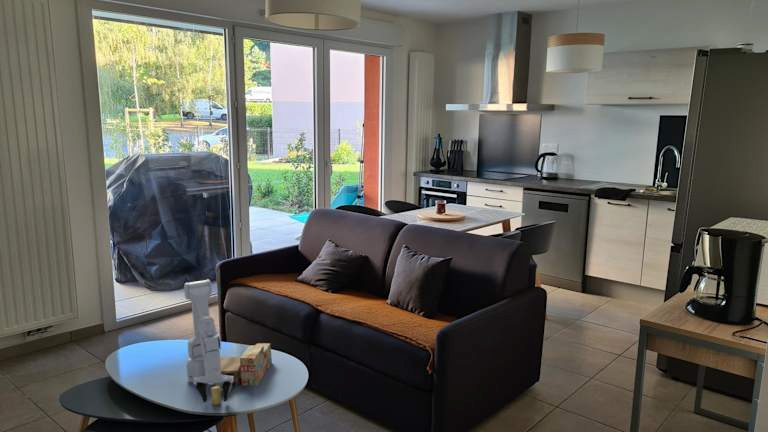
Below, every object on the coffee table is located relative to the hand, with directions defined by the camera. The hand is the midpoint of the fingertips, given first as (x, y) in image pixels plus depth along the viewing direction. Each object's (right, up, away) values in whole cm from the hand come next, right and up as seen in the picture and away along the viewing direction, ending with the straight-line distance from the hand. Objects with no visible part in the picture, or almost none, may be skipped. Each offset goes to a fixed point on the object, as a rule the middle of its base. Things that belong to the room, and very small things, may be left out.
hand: (215, 400), depth 202 cm
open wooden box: (-1, +2, +20) cm, 20 cm away
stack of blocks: (+10, +2, +25) cm, 27 cm away
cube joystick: (0, -1, +7) cm, 7 cm away
